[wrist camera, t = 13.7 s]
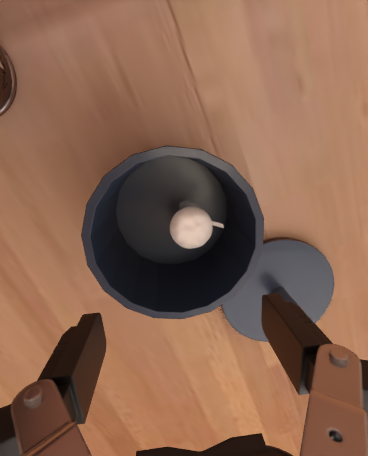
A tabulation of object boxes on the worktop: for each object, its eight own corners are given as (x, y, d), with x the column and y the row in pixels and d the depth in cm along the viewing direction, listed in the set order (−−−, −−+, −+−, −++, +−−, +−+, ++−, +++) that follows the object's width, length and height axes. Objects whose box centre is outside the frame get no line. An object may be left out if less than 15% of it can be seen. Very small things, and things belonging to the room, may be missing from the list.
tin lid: (221, 342, 41) (231, 374, 35) (217, 243, 36) (228, 260, 30) (324, 330, 42) (350, 359, 36) (334, 231, 37) (367, 246, 31)
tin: (121, 273, 36) (100, 328, 25) (101, 154, 31) (63, 153, 20) (232, 262, 37) (262, 310, 26) (229, 143, 32) (265, 137, 21)
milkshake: (210, 221, 34) (227, 247, 25) (173, 230, 34) (176, 259, 25) (203, 189, 33) (219, 203, 24) (165, 199, 33) (164, 217, 24)
